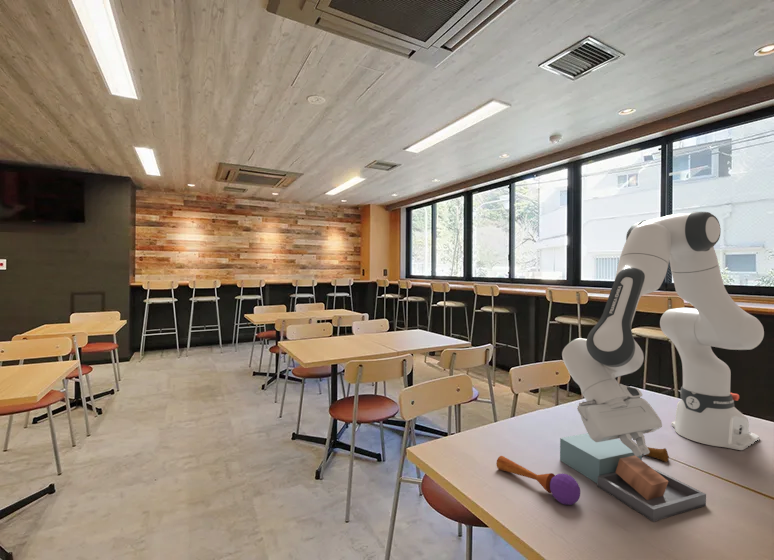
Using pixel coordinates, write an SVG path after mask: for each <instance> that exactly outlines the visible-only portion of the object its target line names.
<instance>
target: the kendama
mask: <svg viewBox="0 0 774 560" xmlns="http://www.w3.org/2000/svg"><path fill="white" fill-rule="evenodd" d="M495 465H496V468H497V469H498V470H500V471H504V472H507V473H510V474H514V475H518V476H522V477H525V478H529V479H533V480H536V481H537V483H539V484H540V486H542V488H543V489H544V490H545V491H546V492H547V494H551V495H552V497H553V498H554V499H555V500H556V501H557V502H559V503H560V504H562V505H566V506H568V505H570V506H571V505H574V504H575V503H577V502H578V501H579V500H580V497H581V488H580V485H579V483H578V481H577V480H576V479H575V478H574V477H573V476H571V475H570V474H566V473H557V474H554V473H551V472H550V473H542V474H538V473H537V474H536V473H535V472H534V471H531V470H529V469H527V468H526V467H524V466H522V465H519V463H516V462H514V461H513V460H511V459H509V458H507V457H505V456H504V455H499V456H498V457H497V460H496V464H495Z"/></svg>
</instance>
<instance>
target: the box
mask: <svg viewBox="0 0 774 560" xmlns="http://www.w3.org/2000/svg"><path fill="white" fill-rule="evenodd" d="M650 467H651V468H652V469H654V470H655V471H656V472H657V473H659V474H660V475H661V476H663V477H664V478H665V479H666V480H668V484H667V487H666V490H665V492H664V495H663V496H661V497H657V498H653V499H650V500H646V499H645V498H644V497H643V496H642V495H641V494H639V493H638V492H637V491H636V490H635V489H634V488H633V487H631V486H630V485H629V484H628V483H627V482H626V481H624V480H623V479H622V478H621V477H620V476H619V475H618V474H616V473H615V472H613V473H609V474H604V475H600V476H598V484H597V488H599V489H601V490H602V491H603V492H606V493H607V494H608V495H610V496H612V497H613V498H615V499H617V500H618V501H620V502H621V503H622V504H624V505H626V506H627V507H629V508H631V509H632V510H634V511H635V512H638V513H639V514H640V515H642V516H643V517H645V518H646V519H648V520H650V521H651V522H657V521H661V520H665V519H667V518H670V517H673V516H674V517H675V516H676V515H680V514H682V513H687V512H689V511H692V510H696V509H699V508H702V507H706V506H707V493H705V492H703V491H701V490H699V489H697V488H694V487H692V486H690V485H688V483H687V484H686V483H685V482H682V481H680V480H678V479H677V478H674V477H673V476H670V475H669V474H666V473H665V472H662V471H661V470H659V469H656V468H654V467H652V466H650Z"/></svg>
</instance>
